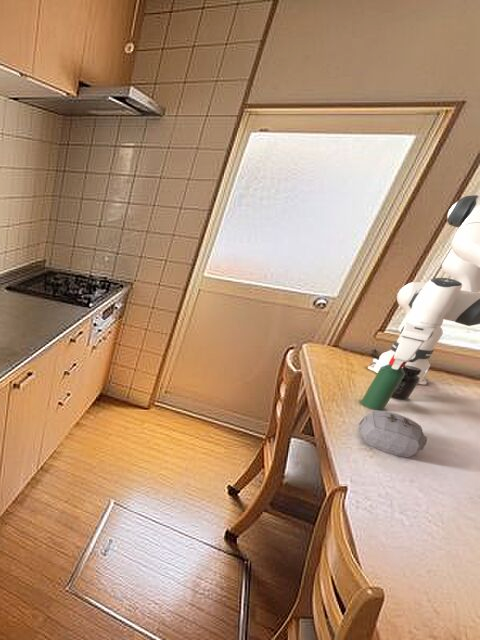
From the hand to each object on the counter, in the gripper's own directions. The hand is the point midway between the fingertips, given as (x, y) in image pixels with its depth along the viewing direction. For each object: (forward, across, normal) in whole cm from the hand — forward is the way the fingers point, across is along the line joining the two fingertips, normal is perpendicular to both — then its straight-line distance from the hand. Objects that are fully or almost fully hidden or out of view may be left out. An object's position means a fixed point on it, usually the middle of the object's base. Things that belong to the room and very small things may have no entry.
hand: (395, 366), depth 144 cm
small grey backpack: (+16, +27, +6) cm, 32 cm away
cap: (-1, 0, 0) cm, 1 cm away
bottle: (+16, -1, 0) cm, 16 cm away
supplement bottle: (+16, -20, +5) cm, 26 cm away
